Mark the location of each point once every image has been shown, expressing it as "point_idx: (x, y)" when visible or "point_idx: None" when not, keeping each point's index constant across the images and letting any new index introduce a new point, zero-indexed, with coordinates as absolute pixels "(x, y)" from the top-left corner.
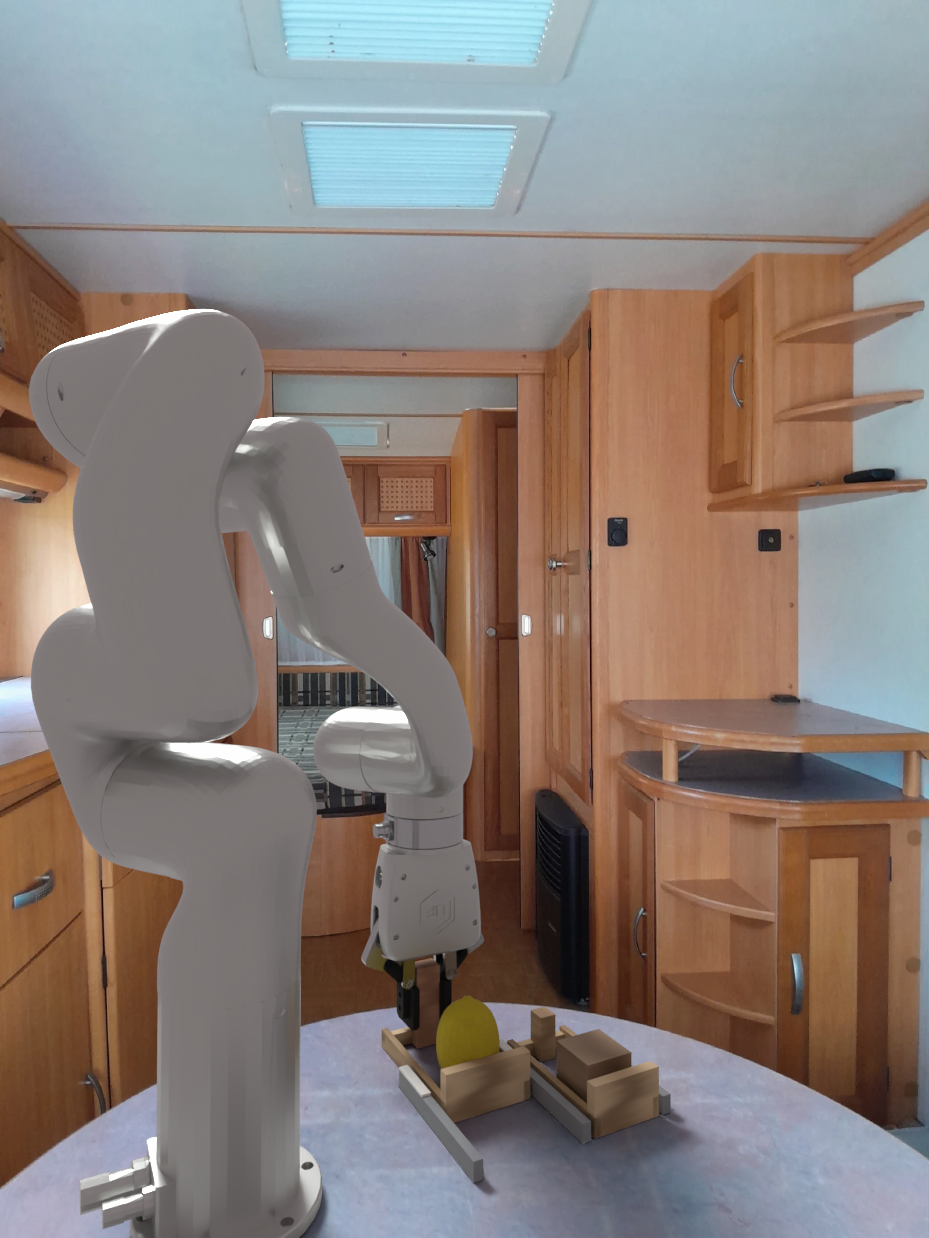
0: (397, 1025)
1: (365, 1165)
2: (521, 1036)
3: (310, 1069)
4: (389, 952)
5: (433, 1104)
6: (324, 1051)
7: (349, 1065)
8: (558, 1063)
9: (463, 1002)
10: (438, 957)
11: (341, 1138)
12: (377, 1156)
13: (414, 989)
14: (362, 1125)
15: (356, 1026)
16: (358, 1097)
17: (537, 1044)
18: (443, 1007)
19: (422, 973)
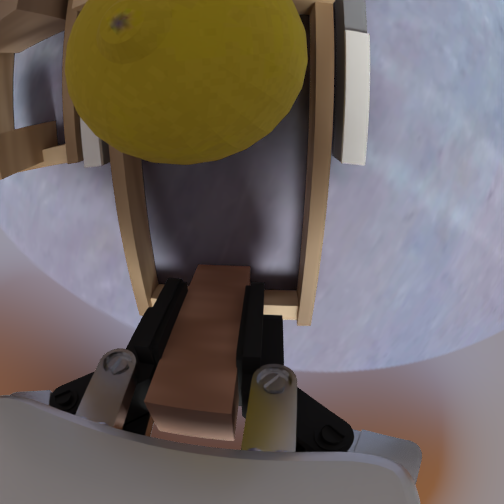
0: None
1: (471, 15)
2: (57, 215)
3: (436, 289)
4: (409, 485)
5: (353, 1)
6: (392, 326)
7: (387, 273)
8: (46, 10)
9: (165, 4)
10: (139, 424)
11: (484, 88)
12: (454, 15)
13: (256, 357)
14: (453, 92)
15: (310, 366)
16: (427, 171)
17: (39, 135)
18: (171, 302)
19: (212, 397)
